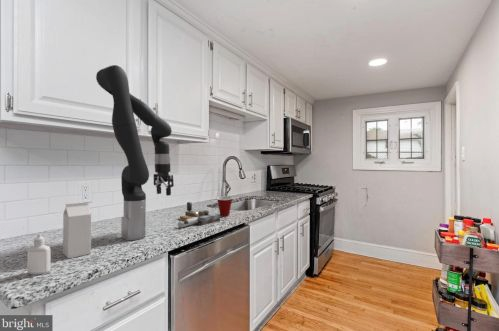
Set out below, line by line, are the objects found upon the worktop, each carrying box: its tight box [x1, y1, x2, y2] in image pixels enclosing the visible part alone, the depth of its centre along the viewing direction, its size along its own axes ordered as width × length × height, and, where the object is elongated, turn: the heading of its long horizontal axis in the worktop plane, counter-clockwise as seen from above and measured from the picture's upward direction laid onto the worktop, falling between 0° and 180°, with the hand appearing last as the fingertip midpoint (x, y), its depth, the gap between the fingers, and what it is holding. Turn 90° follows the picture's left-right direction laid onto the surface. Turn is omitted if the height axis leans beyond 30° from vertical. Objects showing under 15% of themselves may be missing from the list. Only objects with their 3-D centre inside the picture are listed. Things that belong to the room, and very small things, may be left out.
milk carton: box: [62, 201, 92, 259], centre depth 94 cm, size 7×7×19 cm
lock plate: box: [179, 209, 221, 226], centre depth 151 cm, size 14×21×6 cm, turn 52°
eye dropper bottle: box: [26, 233, 51, 275], centre depth 78 cm, size 4×6×12 cm
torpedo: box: [177, 217, 198, 229], centre depth 139 cm, size 18×5×7 cm, turn 148°
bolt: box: [186, 201, 199, 216], centre depth 155 cm, size 3×10×7 cm, turn 52°
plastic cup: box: [216, 195, 234, 217], centre depth 166 cm, size 11×11×12 cm
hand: (163, 194), depth 130 cm, fingers open, 8 cm apart
